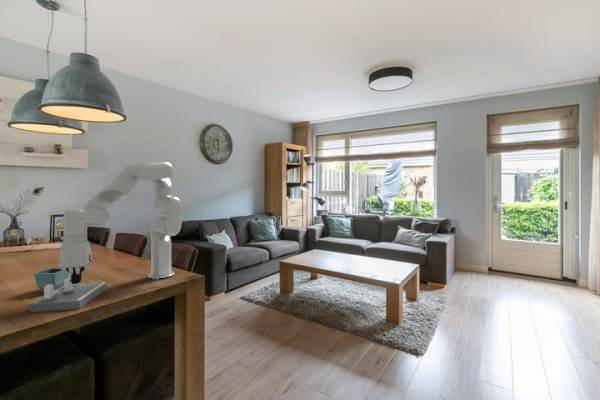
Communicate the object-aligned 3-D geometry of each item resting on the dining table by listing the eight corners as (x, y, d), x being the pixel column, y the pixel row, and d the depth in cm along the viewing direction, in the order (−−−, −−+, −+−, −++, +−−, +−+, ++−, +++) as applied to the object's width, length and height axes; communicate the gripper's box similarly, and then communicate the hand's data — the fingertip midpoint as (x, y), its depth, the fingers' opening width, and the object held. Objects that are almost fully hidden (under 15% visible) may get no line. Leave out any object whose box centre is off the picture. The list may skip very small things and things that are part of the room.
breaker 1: (47, 297, 110) (47, 284, 110) (56, 297, 111) (56, 283, 111) (41, 301, 107) (41, 287, 106) (50, 300, 107) (50, 286, 107)
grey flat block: (67, 290, 127) (67, 283, 127) (107, 288, 130) (107, 281, 130) (30, 312, 105) (30, 303, 104) (79, 308, 108) (79, 300, 108)
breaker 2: (71, 284, 126) (71, 272, 126) (79, 284, 126) (78, 272, 126) (66, 287, 122) (66, 275, 122) (74, 286, 123) (74, 274, 123)
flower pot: (70, 286, 133) (70, 267, 132) (54, 293, 124) (54, 273, 124) (51, 287, 132) (50, 267, 132) (33, 293, 123) (33, 273, 123)
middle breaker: (67, 290, 118) (67, 277, 118) (75, 289, 119) (75, 277, 119) (62, 293, 115) (61, 280, 115) (70, 292, 116) (70, 280, 115)
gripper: (48, 241, 112) (49, 287, 112) (91, 240, 115) (92, 284, 115) (60, 238, 119) (60, 281, 120) (100, 237, 122) (100, 279, 123)
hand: (76, 283), depth 118 cm, fingers closed
